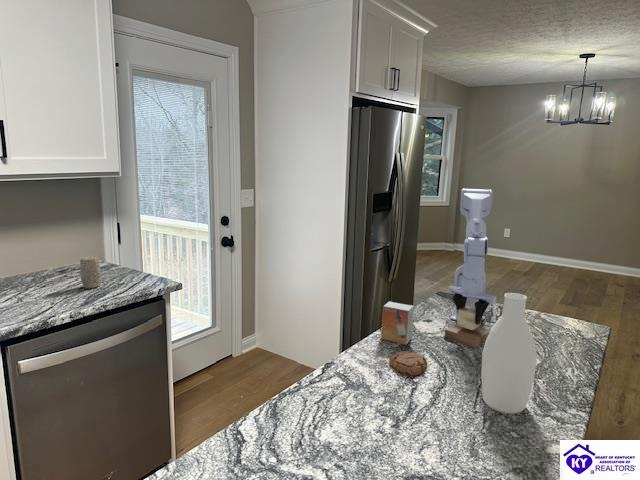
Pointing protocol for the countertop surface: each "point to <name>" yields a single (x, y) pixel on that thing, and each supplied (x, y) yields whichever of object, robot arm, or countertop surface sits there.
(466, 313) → the maple cube
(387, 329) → the small box
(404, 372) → the cookie
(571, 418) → the countertop surface
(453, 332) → the walnut block
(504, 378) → the bottle
